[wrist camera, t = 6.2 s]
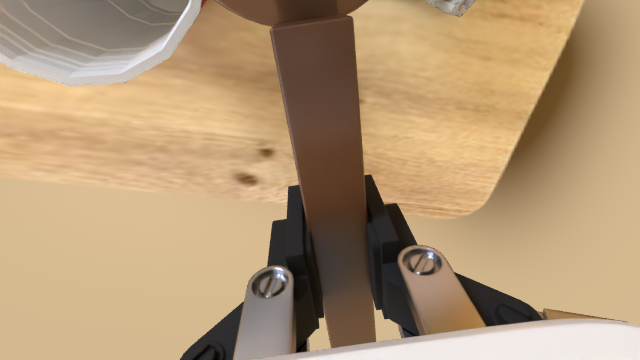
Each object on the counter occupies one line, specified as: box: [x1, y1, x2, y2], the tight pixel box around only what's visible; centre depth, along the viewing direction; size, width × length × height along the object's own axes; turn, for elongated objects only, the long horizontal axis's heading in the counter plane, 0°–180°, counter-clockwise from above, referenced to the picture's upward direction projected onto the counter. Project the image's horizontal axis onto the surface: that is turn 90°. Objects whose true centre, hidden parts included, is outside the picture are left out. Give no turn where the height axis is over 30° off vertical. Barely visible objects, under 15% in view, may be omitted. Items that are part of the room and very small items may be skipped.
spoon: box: [215, 0, 376, 348], centre depth 10 cm, size 20×6×3 cm, turn 8°
